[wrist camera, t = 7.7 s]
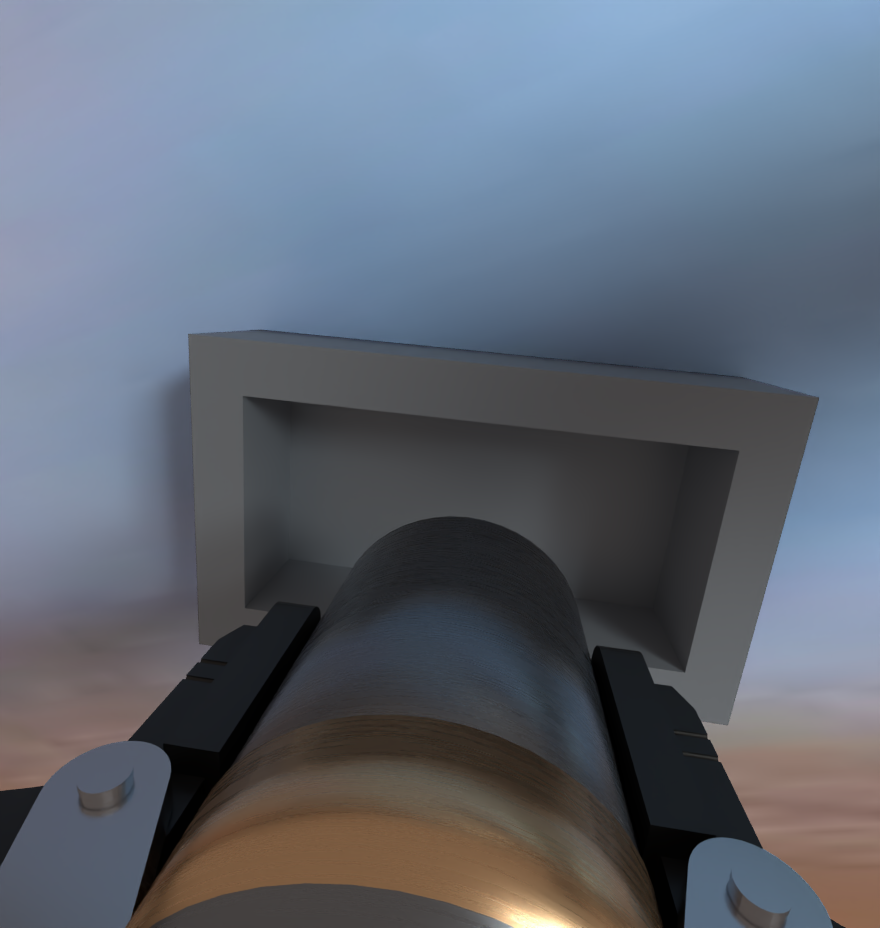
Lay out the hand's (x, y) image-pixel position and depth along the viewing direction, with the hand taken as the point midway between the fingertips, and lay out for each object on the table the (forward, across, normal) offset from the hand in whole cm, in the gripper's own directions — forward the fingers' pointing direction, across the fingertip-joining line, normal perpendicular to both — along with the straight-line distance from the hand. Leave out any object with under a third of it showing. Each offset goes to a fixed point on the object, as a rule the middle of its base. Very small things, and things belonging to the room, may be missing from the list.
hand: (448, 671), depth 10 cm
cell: (+1, 0, 0) cm, 1 cm away
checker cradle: (+10, 0, 0) cm, 10 cm away
